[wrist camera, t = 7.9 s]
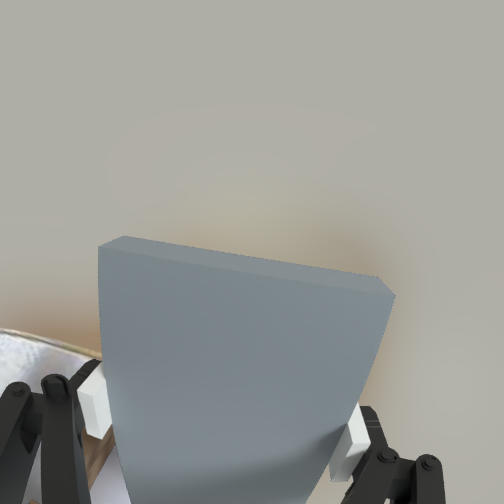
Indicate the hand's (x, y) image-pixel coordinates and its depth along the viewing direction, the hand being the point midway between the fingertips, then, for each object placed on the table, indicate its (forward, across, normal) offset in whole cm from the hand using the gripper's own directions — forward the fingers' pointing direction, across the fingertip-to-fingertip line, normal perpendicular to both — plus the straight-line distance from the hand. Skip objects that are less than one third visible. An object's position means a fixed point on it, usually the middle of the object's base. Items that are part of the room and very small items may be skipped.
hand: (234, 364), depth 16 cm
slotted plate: (-4, 0, -11) cm, 12 cm away
